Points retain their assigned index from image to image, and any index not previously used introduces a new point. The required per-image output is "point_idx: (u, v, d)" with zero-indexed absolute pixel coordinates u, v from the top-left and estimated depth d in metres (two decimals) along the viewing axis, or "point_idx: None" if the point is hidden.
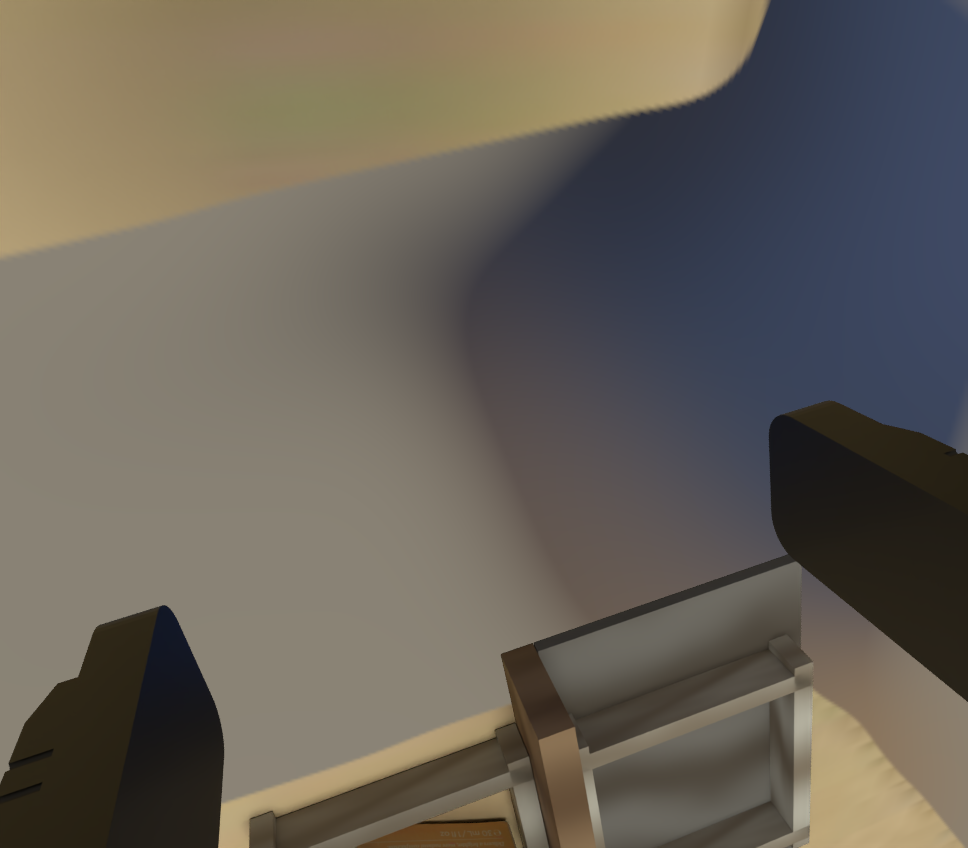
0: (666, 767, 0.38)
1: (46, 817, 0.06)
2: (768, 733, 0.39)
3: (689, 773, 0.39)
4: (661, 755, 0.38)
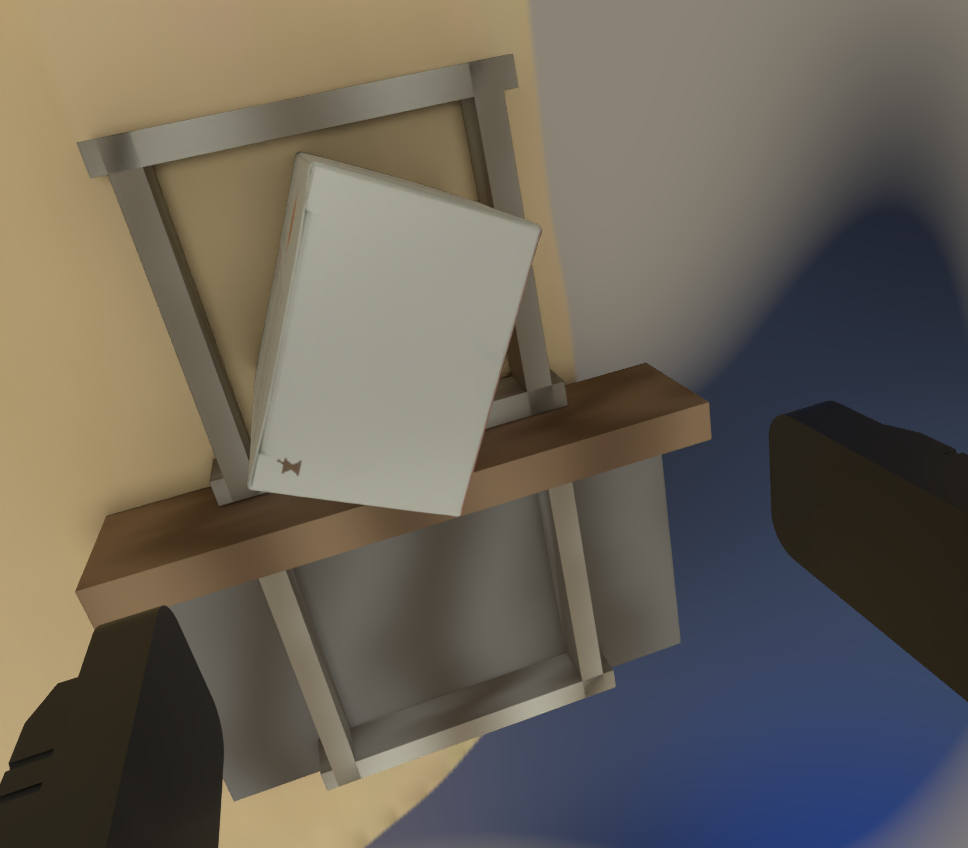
0: (448, 580, 0.32)
1: (46, 817, 0.06)
2: (466, 686, 0.34)
3: (429, 610, 0.32)
4: (470, 568, 0.32)
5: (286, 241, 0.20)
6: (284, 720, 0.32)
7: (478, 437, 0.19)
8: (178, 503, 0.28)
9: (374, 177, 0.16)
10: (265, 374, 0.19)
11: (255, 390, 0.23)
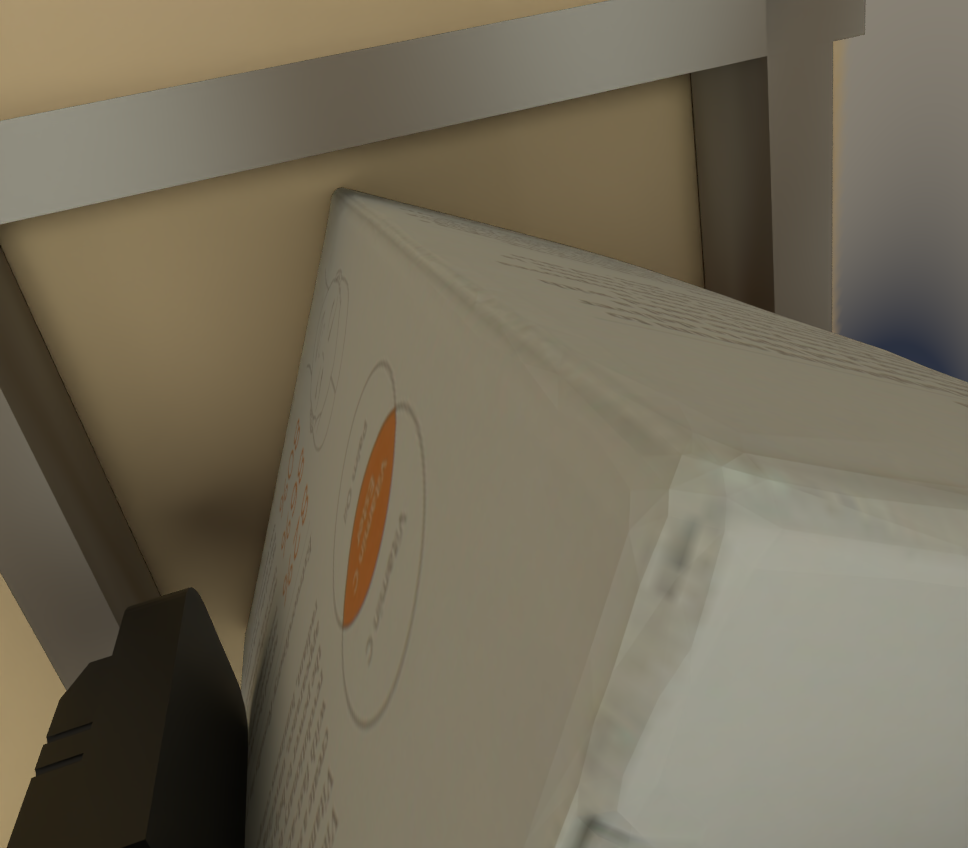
0: None
1: (89, 783, 0.06)
2: None
3: None
4: None
5: (332, 508, 0.06)
6: None
7: None
8: None
9: None
10: None
11: None
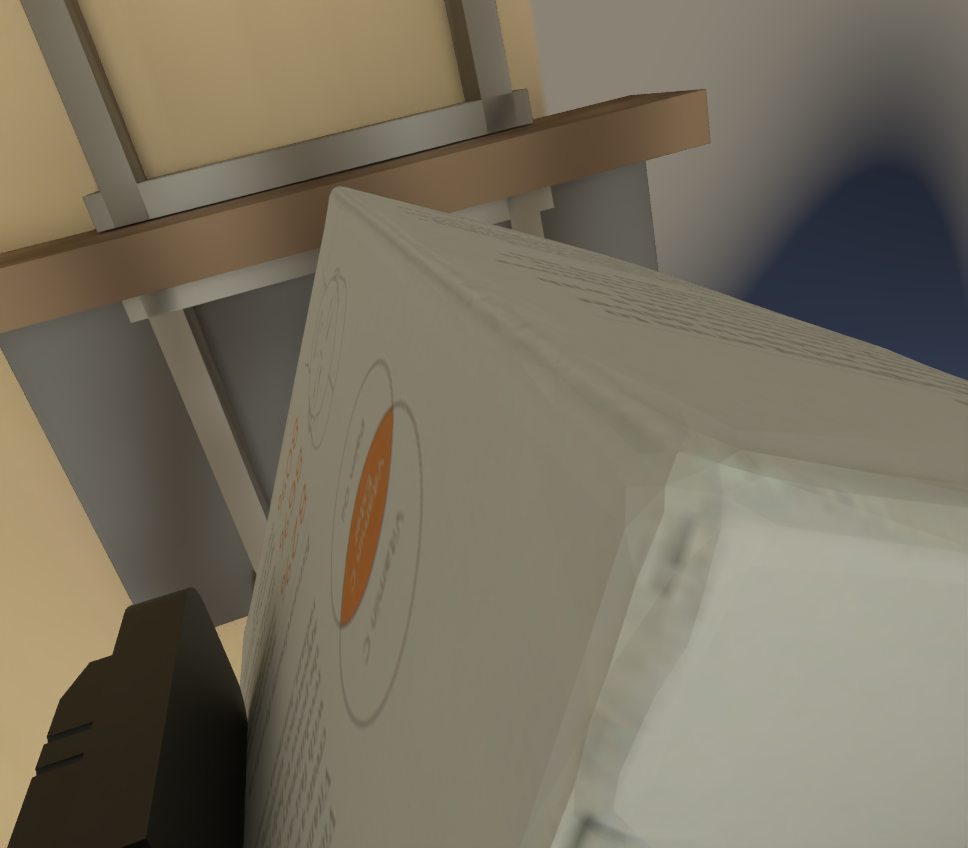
0: None
1: (90, 783, 0.06)
2: None
3: None
4: None
5: (330, 506, 0.06)
6: (209, 544, 0.27)
7: None
8: (52, 242, 0.22)
9: None
10: None
11: None
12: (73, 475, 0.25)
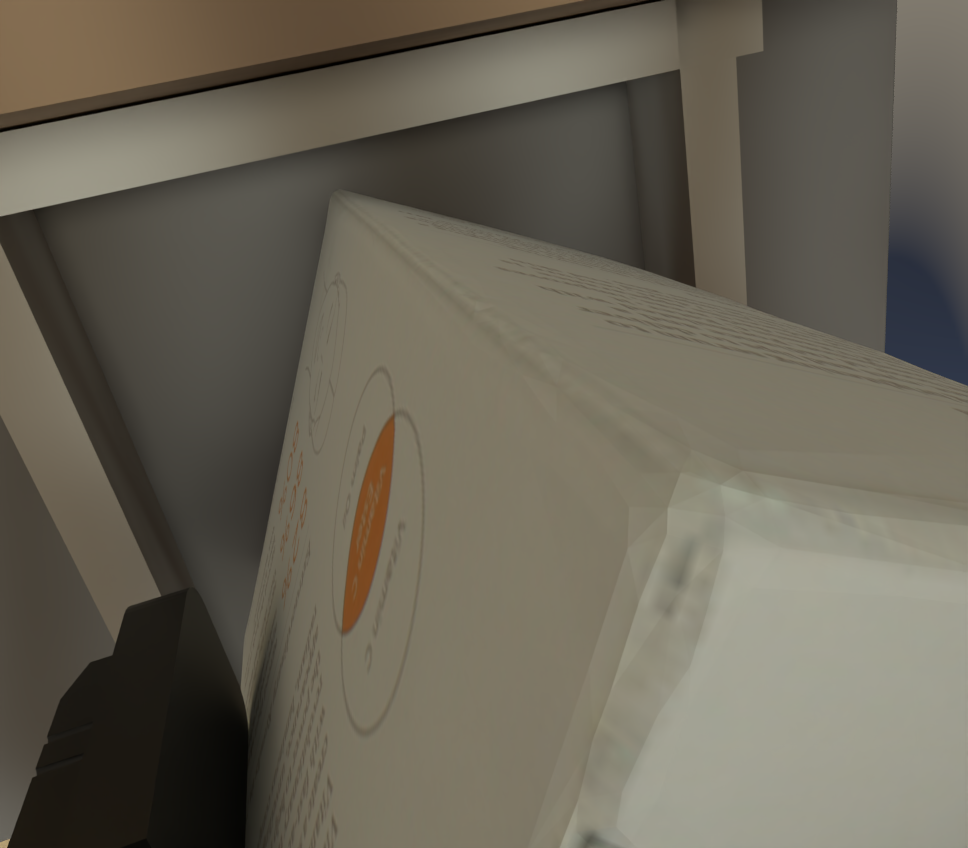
0: None
1: (90, 783, 0.06)
2: None
3: None
4: None
5: (331, 512, 0.06)
6: None
7: None
8: None
9: None
10: None
11: None
12: None
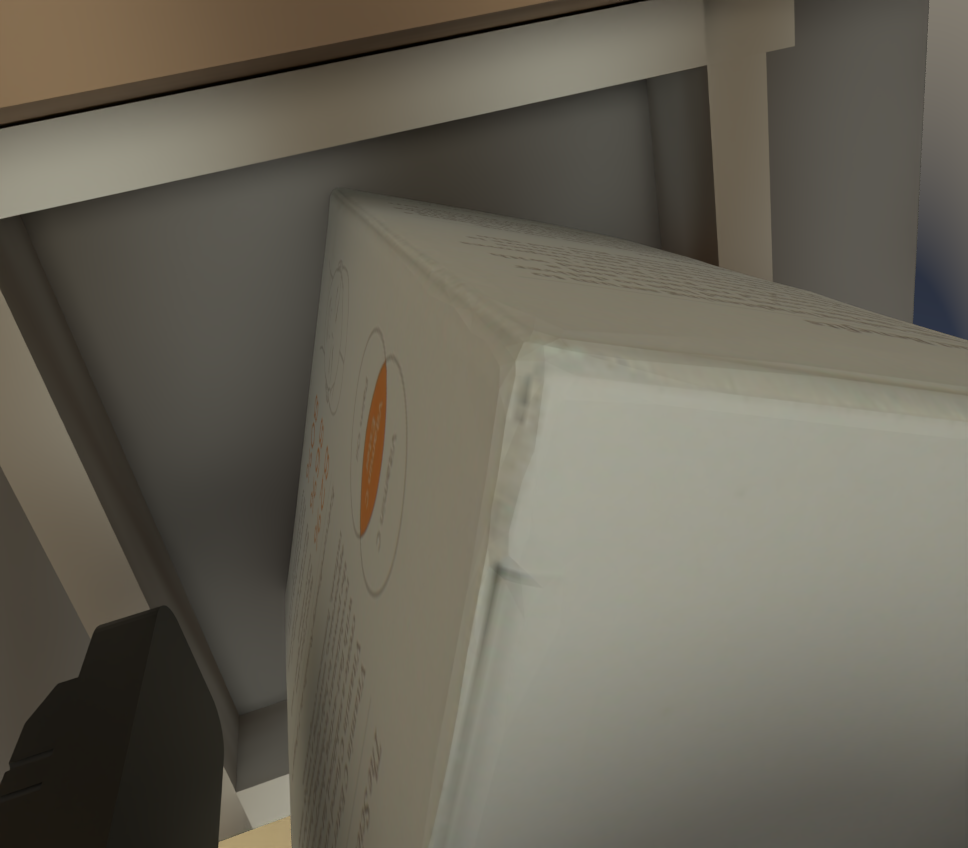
0: None
1: (45, 817, 0.06)
2: None
3: None
4: None
5: (347, 454, 0.08)
6: None
7: None
8: None
9: (793, 371, 0.04)
10: None
11: (292, 731, 0.10)
12: None
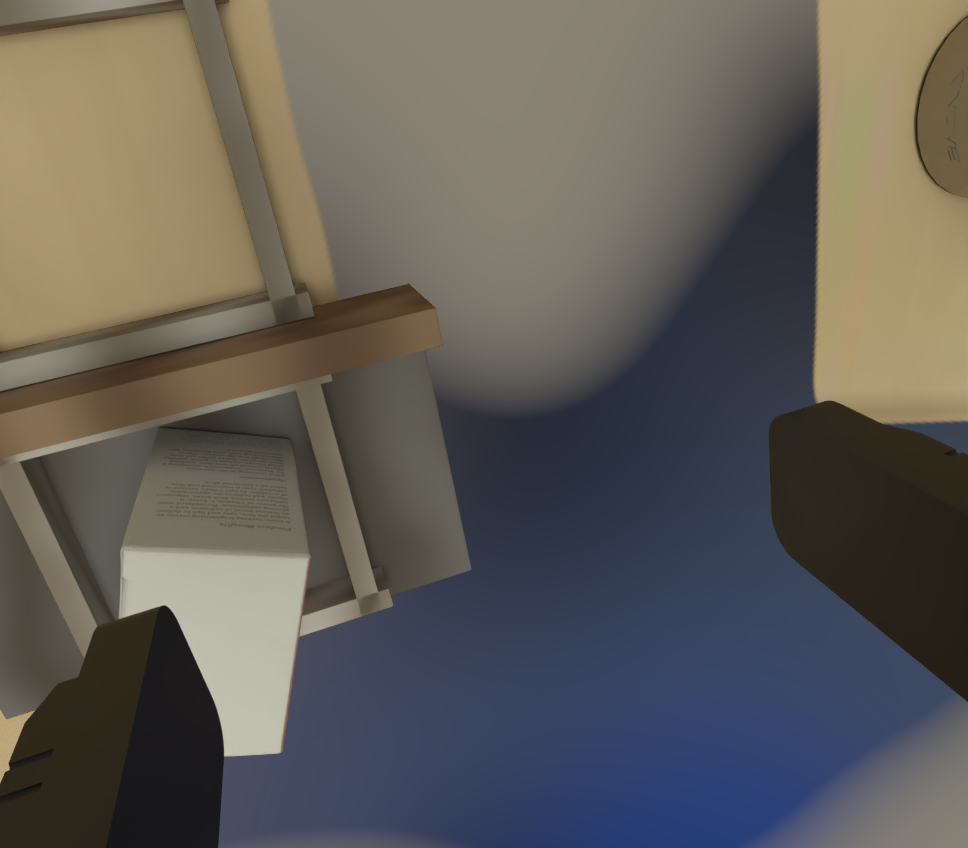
0: None
1: (45, 817, 0.06)
2: None
3: None
4: None
5: None
6: (53, 635, 0.33)
7: (285, 698, 0.25)
8: None
9: (172, 547, 0.22)
10: None
11: None
12: None
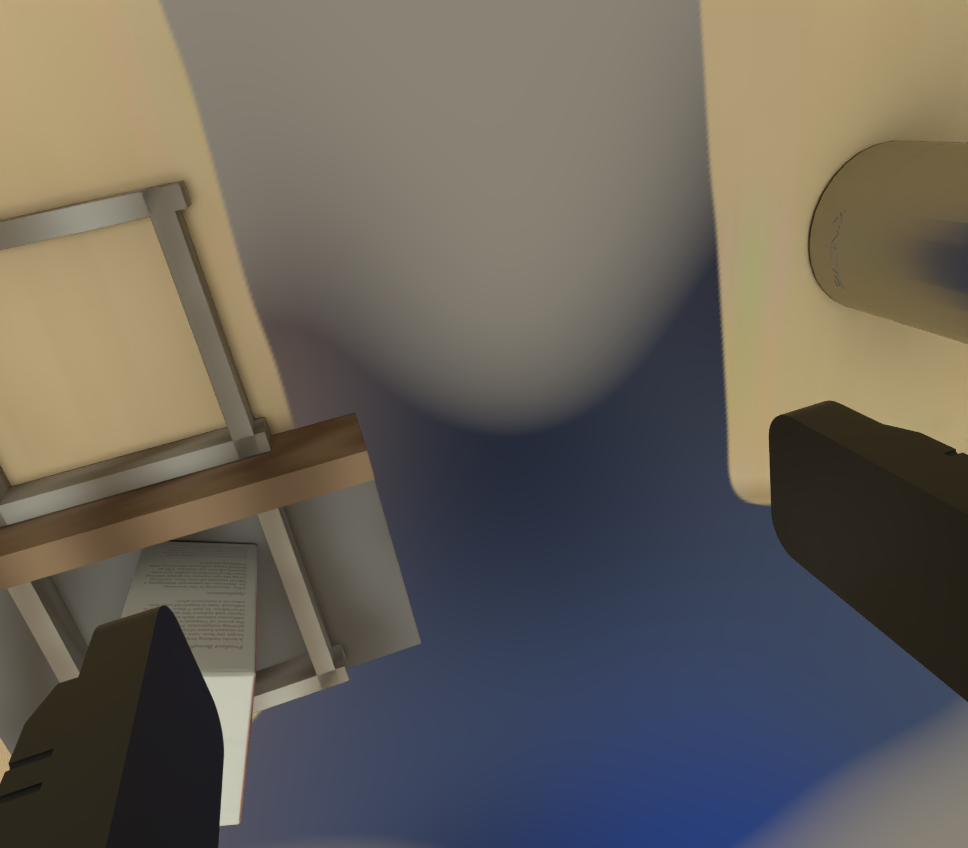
0: None
1: (46, 816, 0.06)
2: None
3: None
4: None
5: None
6: None
7: (240, 782, 0.31)
8: None
9: None
10: None
11: None
12: None
